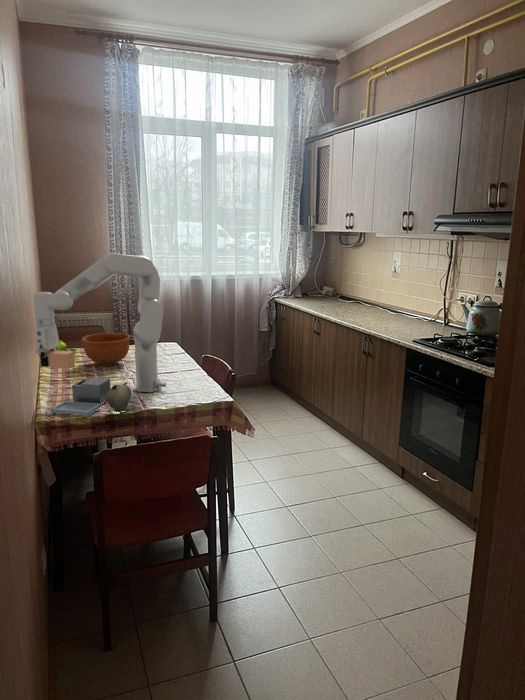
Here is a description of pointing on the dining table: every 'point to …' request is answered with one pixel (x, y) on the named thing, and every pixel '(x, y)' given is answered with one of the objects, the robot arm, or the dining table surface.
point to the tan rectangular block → (60, 359)
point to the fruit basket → (64, 347)
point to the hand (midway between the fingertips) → (48, 364)
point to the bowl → (106, 347)
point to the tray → (76, 408)
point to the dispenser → (91, 390)
